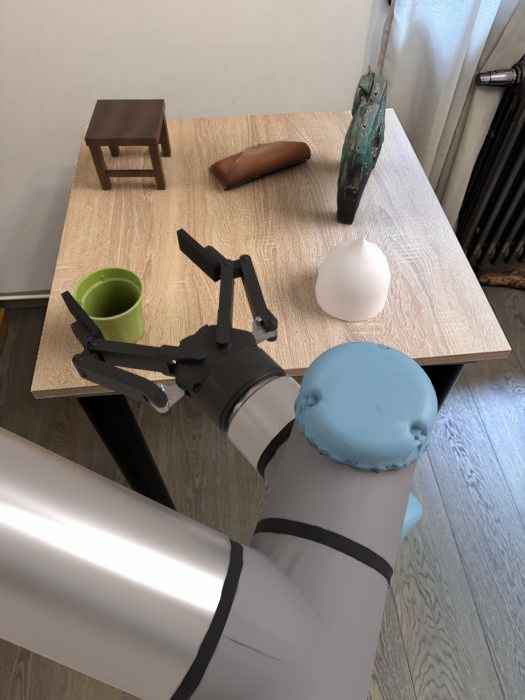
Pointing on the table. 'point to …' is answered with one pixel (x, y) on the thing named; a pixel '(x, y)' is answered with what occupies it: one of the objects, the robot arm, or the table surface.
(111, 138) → the plant stand
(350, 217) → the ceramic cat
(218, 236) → the table surface
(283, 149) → the sunglasses case
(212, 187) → the table surface
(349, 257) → the teardrop
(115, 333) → the plant pot
